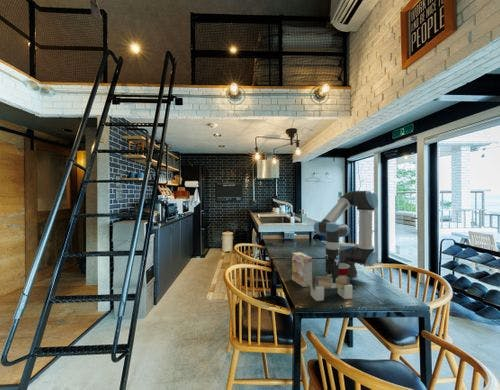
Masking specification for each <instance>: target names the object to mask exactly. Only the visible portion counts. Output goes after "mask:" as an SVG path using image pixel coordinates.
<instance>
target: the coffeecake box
mask: <svg viewBox="0 0 500 390" xmlns="http://www.w3.org/2000/svg"><path fill="white" fill-rule="evenodd" d="M291 254H292V257H291V259H292V261H291V262H292V265H291V280H292V281H293V282H295V283H297V284H298V285H300V286H301V287H302V288H306V287H311V282H313V257H312V256H310V255H308V254H305V253H303V252H301V251H299V252H298V251H297V252H292V253H291Z"/></svg>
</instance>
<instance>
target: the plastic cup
mask: <svg viewBox="0 0 500 390" xmlns="http://www.w3.org/2000/svg"><path fill="white" fill-rule="evenodd" d="M349 267H350V265H348V264H344V263H339V270H338V276H343V275H346V276H348V271H349Z"/></svg>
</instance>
